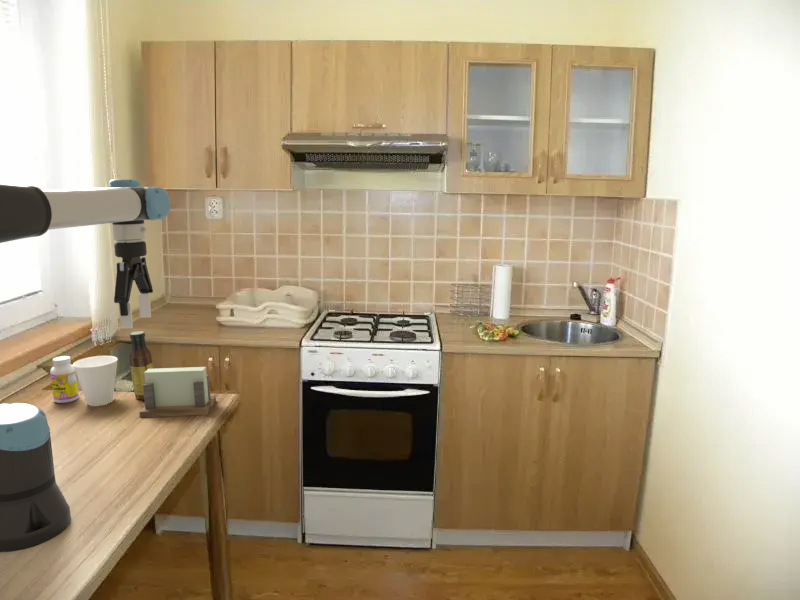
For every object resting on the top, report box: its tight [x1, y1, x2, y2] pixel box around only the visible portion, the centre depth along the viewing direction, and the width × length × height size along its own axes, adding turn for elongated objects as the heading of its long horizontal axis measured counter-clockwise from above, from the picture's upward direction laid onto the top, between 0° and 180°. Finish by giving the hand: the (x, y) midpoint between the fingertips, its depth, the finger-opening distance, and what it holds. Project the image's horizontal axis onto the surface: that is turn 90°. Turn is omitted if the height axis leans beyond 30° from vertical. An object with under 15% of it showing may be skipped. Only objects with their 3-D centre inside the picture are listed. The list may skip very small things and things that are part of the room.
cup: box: [72, 355, 119, 407], centre depth 190 cm, size 12×12×12 cm
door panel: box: [144, 366, 209, 407], centre depth 183 cm, size 4×16×10 cm, turn 93°
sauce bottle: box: [129, 330, 154, 401], centre depth 193 cm, size 7×6×20 cm
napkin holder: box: [139, 374, 217, 418], centre depth 184 cm, size 11×18×8 cm, turn 93°
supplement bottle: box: [49, 355, 80, 404], centre depth 192 cm, size 7×7×13 cm
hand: (136, 322), depth 170 cm, fingers open, 13 cm apart
